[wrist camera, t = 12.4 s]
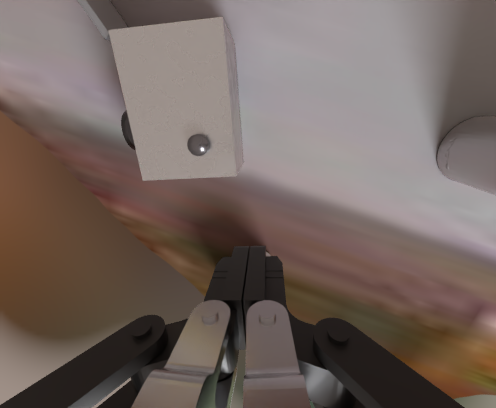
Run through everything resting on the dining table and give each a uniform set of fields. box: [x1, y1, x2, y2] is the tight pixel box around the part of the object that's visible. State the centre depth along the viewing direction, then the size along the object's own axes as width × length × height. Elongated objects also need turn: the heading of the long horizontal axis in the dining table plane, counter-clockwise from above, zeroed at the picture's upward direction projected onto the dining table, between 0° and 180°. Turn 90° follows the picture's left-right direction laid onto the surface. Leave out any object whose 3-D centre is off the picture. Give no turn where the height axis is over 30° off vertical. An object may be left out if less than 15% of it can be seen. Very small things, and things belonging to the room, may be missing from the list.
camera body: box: [108, 17, 244, 181], centre depth 30 cm, size 14×16×10 cm
